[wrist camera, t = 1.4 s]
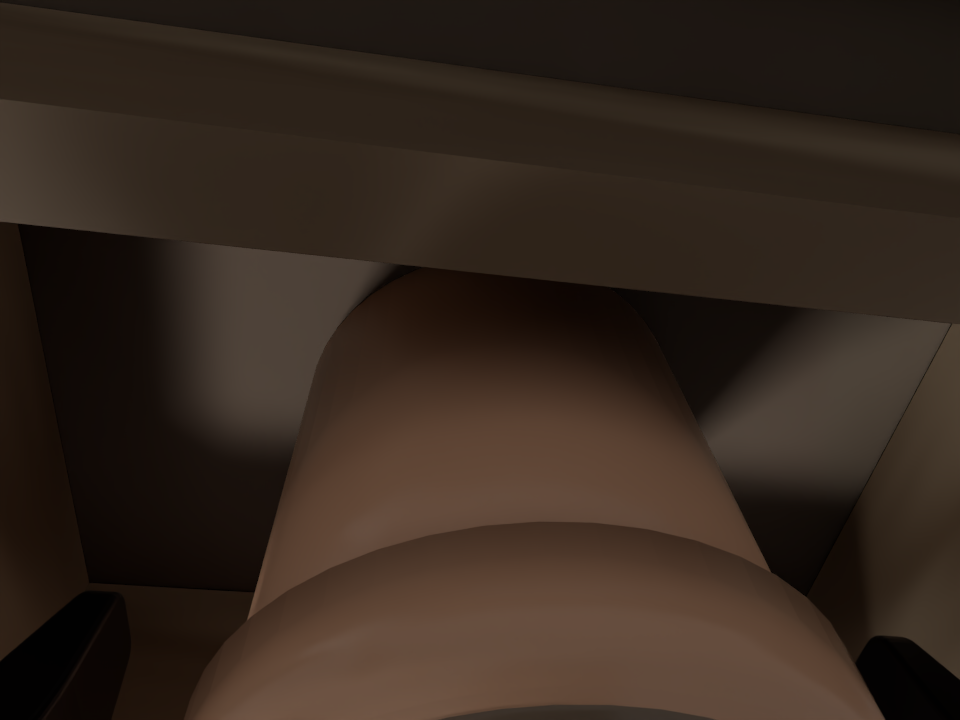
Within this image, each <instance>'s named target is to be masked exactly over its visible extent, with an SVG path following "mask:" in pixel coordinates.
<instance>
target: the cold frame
mask: <svg viewBox="0 0 960 720" xmlns="http://www.w3.org/2000/svg"><path fill="white" fill-rule="evenodd" d="M18 223H19V224H28V225H38V226H47V227H56V228H66V229H75V230H84V231H94V232H103V233H112V234H122V235H131V236H140V237H149V238H159V239H168V240H177V241H187V242H196V243H205V244H215V245H224V246H233V247H243V248H252V249H261V250H271V251H280V252H289V253H299V254H308V255H317V256H327V257H336V258H345V259H355V260H364V261H373V262H383V263H392V264H401V265H411V266H420V267H429V268H438V269H448V270H457V271H466V272H476V273H485V274H494V275H504V276H513V277H522V278H532V279H541V280H550V281H560V282H569V283H578V284H588V285H597V286H606V287H616V288H625V289H634V290H644V291H653V292H662V293H672V294H681V295H690V296H700V297H709V298H718V299H728V300H737V301H746V302H755V303H765V304H774V305H783V306H793V307H802V308H811V309H821V310H830V311H839V312H849V313H858V314H867V315H877V316H886V317H895V318H905V319H914V320H923V321H933V322H942V323H951V324H952V325H951V327H950V329H949V331H948V333H947V335H946V337H945V338H944V340H943V342H942V344H941V346H940V348H939V350H938V352H937V353H936V355H935V357H934V359H933V361H932V363H931V365H930V366H929V368H928V370H927V372H926V374H925V376H924V378H923V380H922V381H921V383H920V385H919V387H918V389H917V391H916V393H915V395H914V396H913V398H912V400H911V402H910V404H909V406H908V408H907V409H906V411H905V413H904V415H903V417H902V419H901V421H900V423H899V424H898V426H897V428H896V430H895V432H894V434H893V436H892V437H891V439H890V441H889V443H888V445H887V447H886V449H885V451H884V452H883V454H882V456H881V458H880V460H879V462H878V464H877V466H876V467H875V469H874V471H873V473H872V475H871V477H870V479H869V480H868V482H867V484H866V486H865V488H864V490H863V492H862V494H861V495H860V497H859V499H858V501H857V503H856V505H855V507H854V508H853V510H852V512H851V514H850V516H849V518H848V520H847V522H846V523H845V525H844V527H843V529H842V531H841V533H840V535H839V537H838V538H837V540H836V542H835V544H834V546H833V548H832V550H831V551H830V553H829V555H828V557H827V559H826V561H825V563H824V565H823V566H822V568H821V570H820V572H819V574H818V576H817V578H816V580H815V581H814V583H813V585H812V587H811V589H810V591H809V593H808V594H807V596H806V597H807V598H808V599H809V600H810V601H811V602H812V603H813V604H814V605H815V606H816V607H817V609H818V610H819V611H820V612H821V613H822V614H823V615H824V616H825V617H826V618H827V619H828V620H829V621H830V622H831V624H832V625H833V627H834V629H835V630H836V632H837V634H838V635H839V637H840V638H841V640H842V642H843V643H844V645H845V646H846V648H847V650H848V652H849V654H850V655H851V657H852V659H853V661H854V663H855V662H856V660H857V658H858V657H859V655H860V654H861V652H862V650H863V649H864V647H865V646H866V644H867V642H868V641H869V640H870V639H871V638H872V637H874V636H877V635H884V636H900V637H905V638H908V639H910V640H912V641H913V642H915V643H916V644H917V645H919V646H920V647H921V648H922V649H923V650H925V651H926V652H927V653H928V654H929V655H931V656H932V657H933V658H934V659H936V660H937V661H938V662H939V663H940V664H942V665H943V666H944V667H945V668H946V669H948V670H949V671H950V672H951V673H952V674H954V675H955V676H956V677H957V678H959V679H960V134H953V133H946V132H939V131H932V130H924V129H917V128H910V127H903V126H895V125H888V124H881V123H873V122H866V121H859V120H852V119H844V118H837V117H830V116H823V115H815V114H808V113H801V112H794V111H786V110H779V109H772V108H764V107H757V106H750V105H743V104H735V103H728V102H721V101H714V100H706V99H699V98H692V97H685V96H677V95H670V94H663V93H655V92H648V91H641V90H634V89H626V88H619V87H612V86H605V85H597V84H590V83H583V82H576V81H568V80H561V79H554V78H546V77H539V76H532V75H525V74H517V73H510V72H503V71H496V70H488V69H481V68H474V67H467V66H459V65H452V64H445V63H437V62H430V61H423V60H416V59H408V58H401V57H394V56H387V55H379V54H372V53H365V52H358V51H350V50H343V49H336V48H328V47H321V46H314V45H307V44H299V43H292V42H285V41H278V40H270V39H263V38H256V37H249V36H241V35H234V34H227V33H219V32H212V31H205V30H198V29H190V28H183V27H176V26H169V25H161V24H154V23H147V22H140V21H132V20H125V19H118V18H110V17H103V16H96V15H89V14H81V13H74V12H67V11H60V10H52V9H45V8H38V7H31V6H23V5H16V4H9V3H1V2H0V661H1V660H2V659H3V658H4V657H5V656H6V655H8V654H9V653H10V652H11V651H12V650H13V649H15V648H16V647H17V646H18V645H19V644H20V643H22V642H23V641H24V640H25V639H26V638H28V637H29V636H30V635H31V634H32V633H33V632H35V631H36V630H37V629H38V628H39V627H40V626H42V625H43V624H44V623H45V622H46V621H47V620H49V619H50V618H51V617H52V616H53V615H54V614H56V613H57V612H58V611H59V610H60V609H61V608H63V607H64V606H65V605H66V604H67V603H68V602H70V601H71V600H72V599H73V598H74V597H76V596H77V595H78V594H80V593H82V592H84V591H89V590H94V591H112V592H119V593H121V594H122V595H123V597H124V599H125V604H126V610H127V616H128V622H129V628H130V634H131V652H130V657H129V661H128V665H127V668H126V672H125V675H124V678H123V682H122V685H121V689H120V692H119V695H118V699H117V702H116V706H115V709H114V712H113V716H112V719H111V720H184V717H185V714H186V711H187V708H188V704H189V701H190V698H191V696H192V694H193V692H194V690H195V688H196V685H197V683H198V681H199V679H200V677H201V675H202V673H203V671H204V669H205V668H206V666H207V665H208V664H209V662H210V661H211V660H212V658H213V657H214V656H215V654H216V653H217V652H218V650H219V649H220V648H221V646H222V645H223V644H224V642H225V641H226V640H227V639H228V638H229V637H230V636H231V635H233V634H234V633H235V632H236V631H237V630H238V629H239V628H240V627H241V626H242V625H243V624H244V623H245V622H246V621H247V619H248V615H249V612H250V608H251V604H252V601H253V597H254V593H253V592H236V591H219V590H202V589H184V588H167V587H150V586H133V585H115V584H98V583H89V580H88V575H87V570H86V564H85V559H84V554H83V549H82V544H81V539H80V534H79V529H78V524H77V519H76V514H75V509H74V504H73V499H72V494H71V489H70V484H69V479H68V474H67V469H66V464H65V459H64V454H63V449H62V444H61V439H60V434H59V429H58V424H57V419H56V414H55V408H54V403H53V398H52V393H51V388H50V383H49V378H48V373H47V368H46V363H45V358H44V353H43V348H42V343H41V338H40V333H39V328H38V323H37V318H36V313H35V308H34V303H33V298H32V293H31V288H30V283H29V278H28V273H27V268H26V263H25V258H24V252H23V247H22V242H21V237H20V232H19V227H18Z"/></svg>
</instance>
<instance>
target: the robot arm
mask: <svg viewBox="0 0 960 720" xmlns="http://www.w3.org/2000/svg"><path fill="white" fill-rule="evenodd" d="M130 652H131V634H130V628H129V622H128V616H127V610H126V604H125V599H124V597H123V595H122V594H121V593H119V592H112V591H94V590H89V591H84V592H82V593H80V594H78V595H77V596H76V597H74V598H73V599H72V600H71V601H70V602H68V603H67V604H66V605H65V606H64V607H63V608H61V609H60V610H59V611H58V612H57V613H56V614H54V615H53V616H52V617H51V618H50V619H49V620H47V621H46V622H45V623H44V624H43V625H42V626H40V627H39V628H38V629H37V630H36V631H35V632H33V633H32V634H31V635H30V636H29V637H28V638H26V639H25V640H24V641H23V642H22V643H20V644H19V645H18V646H17V647H16V648H15V649H13V650H12V651H11V652H10V653H9V654H8V655H6V656H5V657H4V658H3V659H2V660H1V661H0V720H111V719H112V716H113V712H114V709H115V706H116V702H117V699H118V695H119V692H120V689H121V685H122V682H123V678H124V675H125V672H126V668H127V665H128V661H129V657H130ZM855 665H856V666H857V668H858V670H859V672H860V674H861V676H862V677H863V679H864V681H865V683H866V685H867V687H868V688H869V690H870V692H871V694H872V696H873V698H874V699H875V701H876V703H877V705H878V707H879V709H880V710H881V712H882V714H883V716H884V718H885V720H960V679H959V678H957V677H956V676H955V675H954V674H952V673H951V672H950V671H949V670H948V669H946V668H945V667H944V666H943V665H942V664H940V663H939V662H938V661H937V660H936V659H934V658H933V657H932V656H931V655H929V654H928V653H927V652H926V651H925V650H923V649H922V648H921V647H920V646H919V645H917V644H916V643H915V642H913V641H912V640H910V639H908V638H905V637H900V636H884V635H877V636H874V637H872V638H871V639H870V640H869V641H868V642H867V644H866V646H865V647H864V649H863V650H862V652H861V654H860V655H859V657H858V658H857V660H856V662H855Z"/></svg>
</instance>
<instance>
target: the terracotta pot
mask: <svg viewBox="0 0 960 720" xmlns="http://www.w3.org/2000/svg"><path fill="white" fill-rule="evenodd" d="M184 720H885V718H884V716H883V714H882V712H881V710H880V709H879V707H878V705H877V703H876V701H875V699H874V698H873V696H872V694H871V692H870V690H869V688H868V687H867V685H866V683H865V681H864V679H863V677H862V676H861V674H860V672H859V670H858V668H857V666H856V665H855V663H854V661H853V659H852V657H851V655H850V654H849V652H848V650H847V648H846V646H845V645H844V643H843V642H842V640H841V638H840V637H839V635H838V634H837V632H836V630H835V629H834V627H833V625H832V624H831V622H830V621H829V620H828V619H827V618H826V617H825V616H824V615H823V614H822V613H821V612H820V611H819V610H818V609H817V607H816V606H815V605H814V604H813V603H812V602H811V601H810V600H809V599H808V598H807V597H805V596H804V595H803V594H801V593H800V592H799V591H797V590H796V589H795V588H793V587H792V586H791V585H789V584H788V583H786V582H785V581H784V580H782V579H781V578H780V577H778V576H777V575H775V574H773V573H771V571H770V569H769V567H768V565H767V563H766V561H765V559H764V557H763V555H762V553H761V551H760V549H759V547H758V545H757V543H756V541H755V539H754V537H753V535H752V533H751V531H750V529H749V527H748V525H747V523H746V521H745V518H744V516H743V514H742V512H741V510H740V508H739V506H738V504H737V502H736V500H735V498H734V496H733V494H732V492H731V490H730V488H729V486H728V484H727V482H726V480H725V478H724V476H723V474H722V472H721V470H720V468H719V466H718V464H717V462H716V460H715V458H714V456H713V454H712V452H711V450H710V448H709V446H708V444H707V442H706V439H705V437H704V435H703V433H702V431H701V429H700V427H699V425H698V423H697V421H696V419H695V417H694V415H693V413H692V411H691V409H690V407H689V405H688V403H687V401H686V399H685V397H684V395H683V393H682V391H681V389H680V387H679V385H678V383H677V381H676V379H675V377H674V375H673V373H672V371H671V369H670V367H669V365H668V363H667V360H666V358H665V356H664V354H663V352H662V350H661V348H660V346H659V344H658V342H657V340H656V339H655V337H654V335H653V334H652V332H651V331H650V329H649V327H648V326H647V324H646V323H645V321H644V320H643V319H642V318H641V317H640V316H639V314H638V313H637V312H636V311H635V310H634V309H633V307H632V306H631V305H630V304H628V303H627V302H626V301H625V300H624V299H623V298H621V297H620V296H619V295H618V294H617V293H616V292H614V291H613V290H611V289H610V288H608V287H606V286H597V285H588V284H578V283H569V282H560V281H550V280H541V279H532V278H522V277H513V276H504V275H494V274H485V273H476V272H466V271H457V270H448V269H438V268H429V267H423V268H420V269H417V270H415V271H412V272H410V273H408V274H406V275H404V276H402V277H400V278H398V279H396V280H393V281H392V282H390V283H389V284H387V285H385V286H384V287H382V288H381V289H379V290H378V291H376V292H375V293H373V294H371V295H370V296H369V297H368V298H367V299H366V300H364V301H363V302H362V303H361V304H360V305H359V306H357V307H356V308H355V309H354V310H353V311H352V312H351V313H350V314H349V315H348V316H347V318H346V319H345V320H344V321H343V322H342V323H341V324H340V325H339V327H338V328H337V329H336V331H335V332H334V334H333V335H332V337H331V339H330V340H329V342H328V343H327V345H326V346H325V348H324V351H323V353H322V355H321V357H320V360H319V362H318V364H317V367H316V370H315V374H314V378H313V381H312V385H311V389H310V392H309V396H308V400H307V403H306V407H305V411H304V414H303V418H302V422H301V425H300V429H299V432H298V436H297V440H296V443H295V447H294V451H293V454H292V458H291V462H290V465H289V469H288V473H287V476H286V480H285V484H284V487H283V491H282V495H281V498H280V502H279V506H278V509H277V513H276V517H275V520H274V524H273V528H272V531H271V535H270V539H269V542H268V546H267V549H266V553H265V557H264V560H263V564H262V568H261V571H260V575H259V579H258V582H257V586H256V590H255V593H254V597H253V601H252V604H251V608H250V612H249V615H248V619H247V621H246V622H245V623H244V624H243V625H242V626H241V627H240V628H239V629H238V630H237V631H236V632H235V633H234V634H233V635H231V636H230V637H229V638H228V639H227V640H226V641H225V642H224V644H223V645H222V646H221V648H220V649H219V650H218V652H217V653H216V654H215V656H214V657H213V658H212V660H211V661H210V662H209V664H208V665H207V666H206V668H205V669H204V671H203V673H202V675H201V677H200V679H199V681H198V683H197V685H196V688H195V690H194V692H193V694H192V696H191V698H190V701H189V704H188V708H187V711H186V714H185V717H184Z"/></svg>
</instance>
